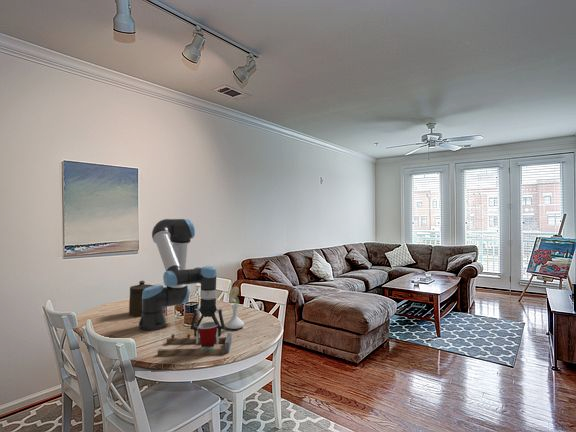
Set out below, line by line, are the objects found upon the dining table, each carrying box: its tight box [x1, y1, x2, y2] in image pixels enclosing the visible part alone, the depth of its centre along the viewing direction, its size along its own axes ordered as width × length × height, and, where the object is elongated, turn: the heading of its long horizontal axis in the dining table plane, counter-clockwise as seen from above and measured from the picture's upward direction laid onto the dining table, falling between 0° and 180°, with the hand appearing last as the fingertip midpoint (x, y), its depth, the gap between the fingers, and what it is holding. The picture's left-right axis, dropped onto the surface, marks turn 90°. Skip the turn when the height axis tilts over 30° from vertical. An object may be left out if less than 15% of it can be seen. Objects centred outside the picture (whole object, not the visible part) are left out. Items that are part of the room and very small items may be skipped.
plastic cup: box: [197, 321, 218, 348], centre depth 163 cm, size 11×11×12 cm
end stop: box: [224, 332, 232, 354], centre depth 164 cm, size 2×13×5 cm, turn 5°
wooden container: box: [128, 280, 154, 318], centre depth 221 cm, size 15×15×22 cm
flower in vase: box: [224, 285, 245, 330], centre depth 194 cm, size 13×11×25 cm
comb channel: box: [157, 333, 227, 357], centre depth 163 cm, size 31×16×4 cm, turn 95°
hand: (207, 342), depth 163 cm, fingers closed on plastic cup, 9 cm apart
